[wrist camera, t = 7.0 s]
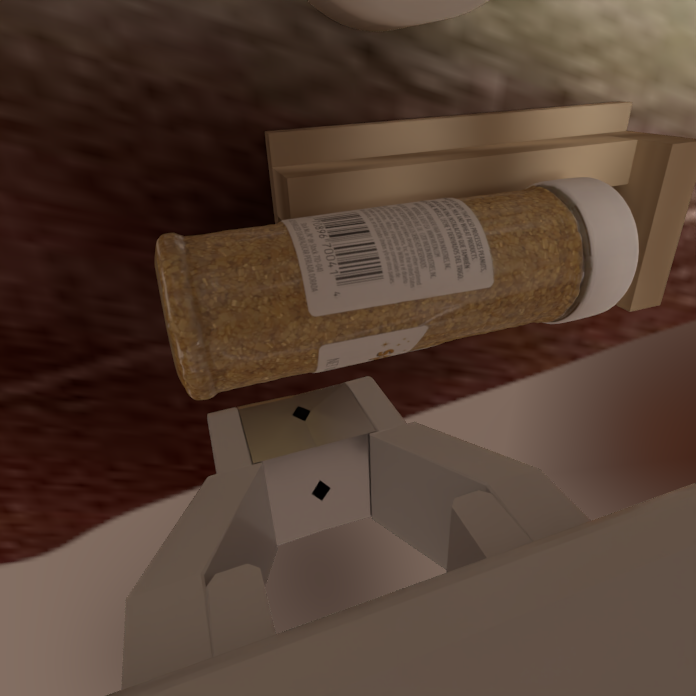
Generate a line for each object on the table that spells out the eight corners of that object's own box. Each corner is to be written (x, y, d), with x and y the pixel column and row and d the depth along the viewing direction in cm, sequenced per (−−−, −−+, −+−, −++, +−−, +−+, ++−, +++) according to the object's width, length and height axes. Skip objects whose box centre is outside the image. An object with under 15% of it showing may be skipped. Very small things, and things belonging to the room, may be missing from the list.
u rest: (290, 352, 20) (319, 408, 16) (264, 131, 16) (295, 146, 12) (581, 291, 23) (653, 327, 20) (620, 101, 19) (716, 107, 16)
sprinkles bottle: (193, 438, 13) (611, 341, 17) (152, 296, 10) (673, 213, 14) (179, 333, 16) (531, 269, 20) (145, 201, 13) (567, 153, 17)
